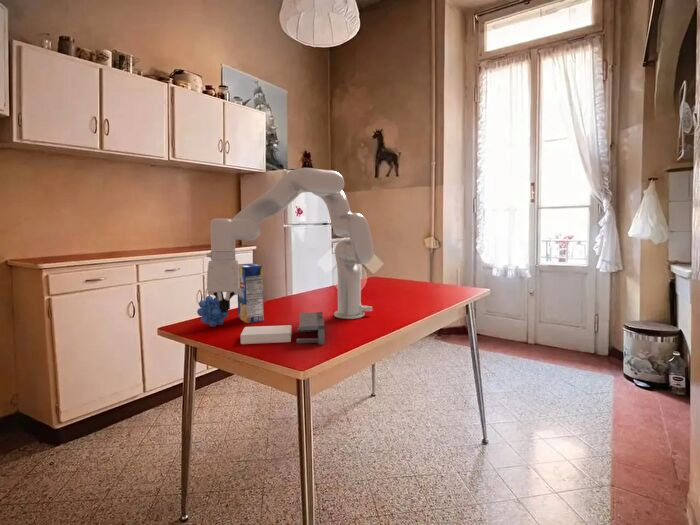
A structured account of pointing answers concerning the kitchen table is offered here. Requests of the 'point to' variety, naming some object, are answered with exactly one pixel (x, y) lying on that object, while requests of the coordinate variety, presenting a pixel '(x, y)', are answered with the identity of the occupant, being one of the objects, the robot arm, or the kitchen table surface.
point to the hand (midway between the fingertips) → (224, 311)
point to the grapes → (211, 311)
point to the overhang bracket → (312, 327)
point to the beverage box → (250, 293)
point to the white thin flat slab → (266, 334)
